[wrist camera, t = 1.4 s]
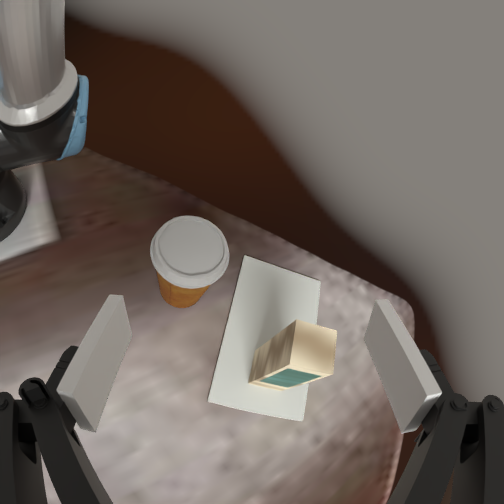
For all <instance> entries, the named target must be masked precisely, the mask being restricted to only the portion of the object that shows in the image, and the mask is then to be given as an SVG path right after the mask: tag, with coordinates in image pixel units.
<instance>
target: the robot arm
mask: <svg viewBox="0 0 504 504" xmlns="http://www.w3.org/2000/svg"><path fill="white" fill-rule="evenodd" d="M64 5H65V0H0V241H2V240H3V239H5V238H6V237H7V236H8V235H10V234H11V233H12V232H13V230H14V229H15V228H16V227H17V225H18V224H19V222H20V221H21V219H22V217H23V214H24V212H25V208H26V194H25V191H24V188H23V185H22V183H21V181H20V180H19V179H18V178H17V177H16V176H15V175H14V173H13V172H12V171H11V170H10V169H14V168H18V167H23V166H27V165H31V164H36V163H41V162H46V161H51V160H61V159H63V158H64V157H68V156H72V155H76V154H78V153H79V152H80V151H81V150H82V148H83V146H84V143H85V135H86V124H87V119H86V117H87V110H88V87H89V84H88V78H87V77H86V76H81V75H77V72H76V69H75V67H74V66H73V64H72V63H71V62H69V61H68V60H66V59H65V51H64ZM131 338H132V332H131V328H130V324H129V320H128V316H127V312H126V308H125V303H124V299H123V295H109V297H108V298H107V300H106V301H105V303H104V305H103V306H102V308H101V310H100V311H99V313H98V315H97V316H96V318H95V320H94V321H93V323H92V325H91V327H90V328H89V330H88V332H87V334H86V335H85V337H84V339H83V341H82V342H81V344H80V346H79V347H77V346H70V347H69V348H68V349H67V350H66V351H65V352H64V353H63V354H62V356H61V358H60V360H59V362H58V363H57V365H56V368H54V370H53V372H52V374H51V376H50V378H49V379H48V381H47V383H46V385H45V383H44V381H43V380H41V379H40V378H35V377H33V378H29V379H27V380H25V381H24V382H23V383H22V384H21V385H20V388H19V395H20V397H21V398H22V400H14V398H13V397H12V395H11V394H9V393H8V392H1V393H0V504H48V503H47V498H46V492H45V486H44V479H43V471H42V462H41V454H42V457H43V460H44V463H45V465H46V468H47V471H48V473H49V476H50V478H51V481H52V483H53V486H54V488H55V490H56V493H57V495H58V497H59V499H60V501H61V504H113V502H112V501H111V499H110V497H109V496H108V494H107V492H106V491H105V489H104V487H103V485H102V484H101V482H100V480H99V478H98V476H97V474H96V473H95V471H94V469H93V467H92V465H91V463H90V461H89V459H88V457H87V455H86V453H85V451H84V449H83V446H82V444H81V442H80V440H79V438H78V435H77V433H76V431H75V430H74V426H75V423H76V422H77V424H78V425H79V427H80V428H81V429H84V430H88V431H92V432H96V430H97V427H98V424H99V421H100V418H101V416H102V413H103V410H104V407H105V404H106V402H107V399H108V396H109V393H110V391H111V388H112V385H113V383H114V380H115V378H116V375H117V372H118V370H119V367H120V365H121V362H122V360H123V357H124V355H125V352H126V350H127V347H128V345H129V343H130V340H131ZM364 341H365V343H366V346H367V348H368V350H369V353H370V355H371V357H372V360H373V362H374V364H375V367H376V369H377V372H378V374H379V376H380V379H381V381H382V384H383V386H384V389H385V391H386V394H387V396H388V399H389V402H390V404H391V407H392V409H393V412H394V414H395V417H396V420H397V422H398V425H399V428H400V431H401V433H406V432H410V431H415V430H416V429H417V428H418V426H419V425H420V424H421V423H422V425H423V428H424V429H423V430H422V432H421V433H420V434H419V436H418V437H417V438H416V439H415V442H417V444H416V446H415V448H414V451H413V453H412V455H411V458H410V460H409V462H408V464H407V466H406V468H405V470H404V472H403V474H402V476H401V478H400V480H399V482H398V484H397V486H396V488H395V490H394V492H393V494H392V495H391V497H390V499H389V501H388V503H387V504H440V503H441V501H442V498H443V496H444V493H445V491H446V488H447V485H448V482H449V480H450V477H451V474H452V471H453V468H454V478H453V487H452V496H451V502H450V504H504V405H503V402H502V401H501V400H500V399H499V398H498V397H497V396H494V395H488V396H486V397H485V398H484V399H483V401H482V402H468V400H467V399H466V398H465V397H464V396H462V395H461V394H457V393H454V392H453V390H452V388H451V386H450V384H449V383H448V381H447V379H446V377H445V376H444V374H443V372H442V371H441V369H440V367H439V365H438V364H437V362H436V360H435V358H434V357H433V355H431V354H430V353H429V352H428V351H427V350H418V348H417V346H416V344H415V343H414V341H413V339H412V338H411V336H410V334H409V333H408V331H407V329H406V328H405V326H404V324H403V323H402V321H401V319H400V318H399V316H398V314H397V313H396V311H395V310H394V308H393V306H392V305H391V303H390V302H389V300H388V299H386V300H375V304H374V307H373V311H372V314H371V317H370V321H369V324H368V327H367V330H366V333H365V337H364ZM417 440H418V441H417ZM40 451H41V452H40ZM454 465H455V466H454Z"/></svg>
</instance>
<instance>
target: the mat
mask: <svg viewBox="0 0 504 504" xmlns="http://www.w3.org/2000/svg"><path fill="white" fill-rule="evenodd" d="M320 283H321V281H318V280H315V279H312V278H309V277H306V276H303V275H301V274H298V273H295V272H292V271H289V270H286V269H283V268H280V267H277V266H275V265H272V264H269V263H266V262H263V261H260V260H257V259H254V258H252V257H249V256H246V255H244V258H243V262H242V266H241V270H240V274H239V278H238V281H237V285H236V289H235V293H234V297H233V301H232V305H231V309H230V313H229V317H228V321H227V325H226V329H225V333H224V336H223V340H222V344H221V348H220V352H219V356H218V360H217V364H216V368H215V372H214V376H213V380H212V384H211V388H210V392H209V396H208V400H207V401H208V402H211V403H215V404H219V405H223V406H227V407H231V408H235V409H240V410H244V411H249V412H253V413H258V414H263V415H268V416H273V417H278V418H284V419H290V420H296V421H303V417H304V411H305V405H306V398H307V392H308V385H309V383H306V384H302V385H299V386H296V387H293V388H290V389H286V390H283V391H278V390H274V389H269V388H265V387H261V386H257V385H252V384H248V381H249V376H250V372H251V367H252V362H253V357H254V353H255V350H257V349H258V348H259V347H261V346H262V345H263V344H265V343H266V342H267V341H269V340H270V339H271V338H273V337H274V336H275V335H277V334H278V333H279V332H281V331H282V330H283V329H284V328H286V327H287V326H288V325H290V324H291V323H292V322H293V321H295V320H296V319H298V320H301V321H304V322H308V323H311V324H315V325H316V323H317V314H318V304H319V294H320Z"/></svg>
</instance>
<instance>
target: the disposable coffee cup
mask: <svg viewBox="0 0 504 504" xmlns="http://www.w3.org/2000/svg"><path fill="white" fill-rule="evenodd" d="M150 255H151V259H152V262H153V265H154V266H155V268H156V272H157V277H158V282H159V287H160V292H161V295H162V297H163V299H164V300H165V301H166V302H167V303H168V304H170V305H172V306H174V307H178V308H186V307H190V306H192V305H194V304H195V303H196V302H197V301H198V300H199V298H200V297H201V296H202V295H203V294H204V292H205V291H206V290H207V289H208V287H209V286H210V285H211V284H212V283H214V282H215V281H217V280H218V279H219V278H220V277H221V276H222V275H223V274H224V272H225V270H226V268H227V266H228V263H229V249H228V246H227V242H226V239H225V237H224V235H223V233H222V232H221V231H220V230H219V229H218V228H217V226H216V225H214V224H213V223H211V222H210V221H208V220H206V219H203V218H200V217H196V216H180V217H176V218H173V219H171V220H170V221H168V222H166V223H165V224H164V225H163V226H162V227H161V228H160V229H159V230H158V231H157V232H156V234H155V235H154V237H153V239H152V242H151V247H150Z"/></svg>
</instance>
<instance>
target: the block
mask: <svg viewBox="0 0 504 504" xmlns="http://www.w3.org/2000/svg"><path fill="white" fill-rule="evenodd" d="M336 338H337V331H336V330H332V329H329V328H325V327H322V326H318V325H315V324H311V323H308V322H304V321H301V320H298V319H296V320H295V321H293V322H292V323H291V324H290V325H288V326H287V327H286V328H284V329H283V330H282V331H281V332H279V333H278V334H277V335H275V336H274V337H273V338H271V339H270V340H269V341H267V342H266V343H265V344H263V345H262V346H261V347H259V348H258V349H257V350H255V353H254V357H253V362H252V367H251V372H250V376H249V381H248V384H252V385H257V386H261V387H265V388H269V389H274V390H278V391H283V390H286V389H290V388H293V387H296V386H299V385H302V384H306V383H309V382H312V381H315V380H318V379H321V378H323V377H326V376H329V375H332V374H333V368H334V359H335V349H336Z"/></svg>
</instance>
